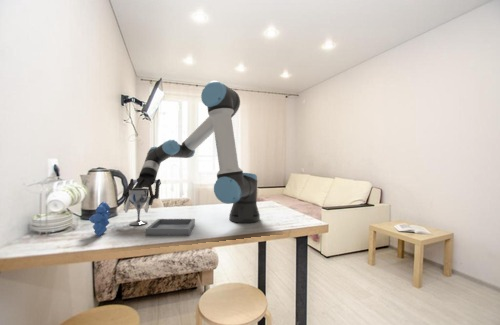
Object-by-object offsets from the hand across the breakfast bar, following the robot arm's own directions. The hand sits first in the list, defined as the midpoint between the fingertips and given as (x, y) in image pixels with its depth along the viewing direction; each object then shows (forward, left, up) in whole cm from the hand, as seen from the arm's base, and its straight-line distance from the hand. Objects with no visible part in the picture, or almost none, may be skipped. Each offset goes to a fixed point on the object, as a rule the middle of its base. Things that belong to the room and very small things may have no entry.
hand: (135, 210), depth 98 cm
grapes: (+9, +11, -7) cm, 15 cm away
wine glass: (0, -3, -6) cm, 7 cm away
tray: (-17, +6, -7) cm, 19 cm away
